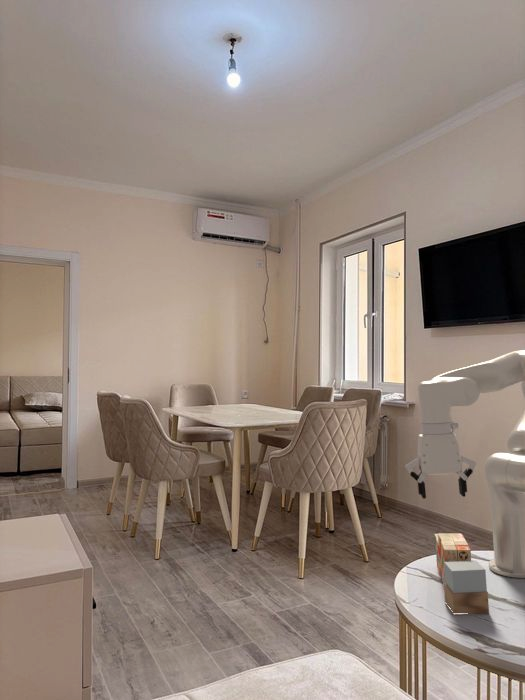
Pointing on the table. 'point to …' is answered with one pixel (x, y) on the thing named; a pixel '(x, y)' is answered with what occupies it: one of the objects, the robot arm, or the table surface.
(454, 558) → the stack of blocks
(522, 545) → the robot arm
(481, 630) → the table surface
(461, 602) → the tower bottom
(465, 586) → the tower top
